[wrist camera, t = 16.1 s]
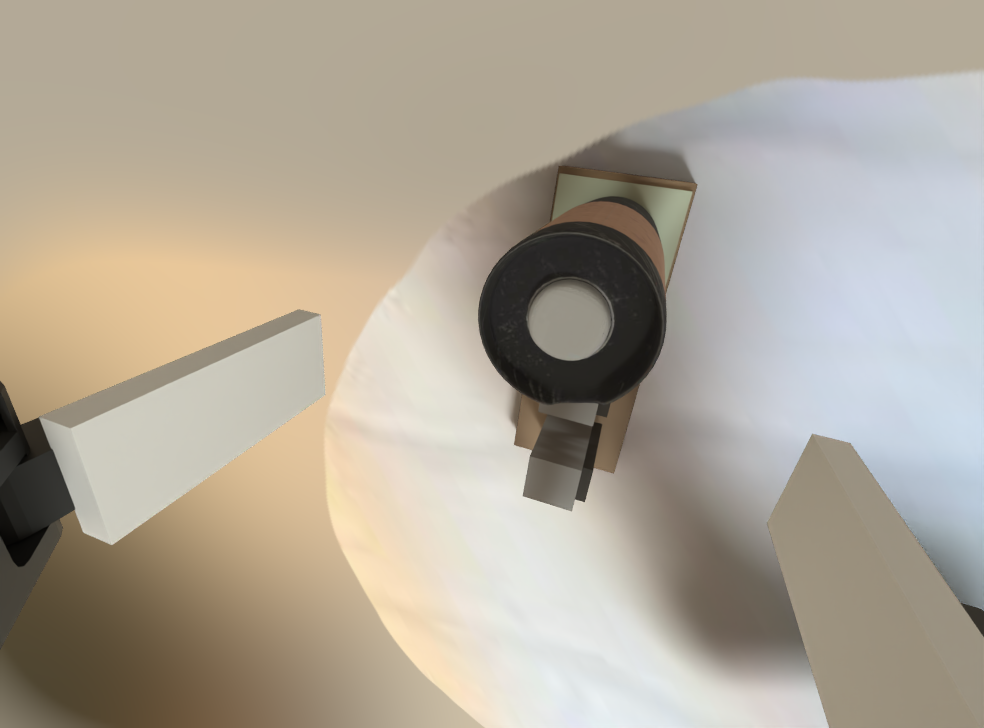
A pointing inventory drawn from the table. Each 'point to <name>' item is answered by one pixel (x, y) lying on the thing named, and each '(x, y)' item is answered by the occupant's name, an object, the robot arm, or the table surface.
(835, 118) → the table surface
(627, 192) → the board with grey blocks
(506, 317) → the travel mug
